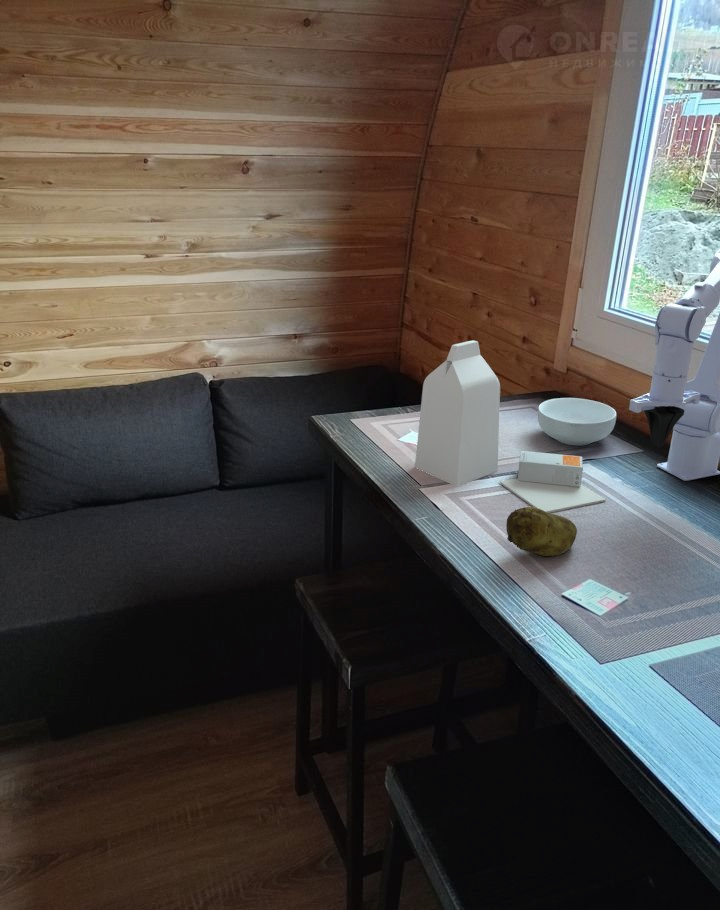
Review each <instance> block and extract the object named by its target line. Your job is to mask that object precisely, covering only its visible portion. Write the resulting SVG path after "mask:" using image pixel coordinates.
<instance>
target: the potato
mask: <svg viewBox="0 0 720 910" xmlns="http://www.w3.org/2000/svg"><path fill="white" fill-rule="evenodd" d="M505 525H506V527H505V528H506V534H507V541H509V543H512V544H513V545H514V546H516V547H517V548H518V549H519V550H521V551H525V552H529V553H535V554H537V555H539V556H545V557H553V556H554V557H555V556H558V555H561V554H564V553H566V552H567V551H568V550H569V549H570V548H571V547H572V546H573V544H574V542H575V540H576V537H577V534H578V529H577V526H576V525H575V523H574V522H573V521H572V520H570V519H569V518H567V517H565V516H561V515H557V514H554V513H552V512H551V513H547V512H545V511H543V510H541V509H538V508H534V507H532V506H527V507H522V508H521V507H520V508H518V509H514V510H513V511H512V512H510V514H508V517H507V518H506V524H505Z"/></svg>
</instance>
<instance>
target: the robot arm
mask: <svg viewBox="0 0 720 910" xmlns="http://www.w3.org/2000/svg"><path fill="white" fill-rule="evenodd" d="M709 267H710V268H709V274H708V275H707V277H706V278H705V279H704V281H701V282H699V281H698V282H697V281H696V283H694V284H693V285H691V286H690V287H689V288H688V290H686V292H685V293H684V294H682V295H681V296H680V297H679V298H678V299H677V300H676V301H675V302H674V303H668V304H667V305H663V306H662V307H661V308H660V310H659V311H658V313H657V315H656V320H655V322H654V330H655V331H654V332H655V341H654V343H655V346H657V349H656V353H655V361H654V366H653V371H652V377H651V383H650V389H649V392H648V393H646V394H643V395H641V396H639V397H636V398H633V399H630V400H629V407H628V410H629V411H631V412H634V413H636V414H639V413H641V412H643V411H644V414H645V416H646V419H647V423H648V426H649V435H650V443H651V444H653V445H655V446H657V447H663V446H665V444H666V442H667V440H668V438H669V437H670V434H671V432H672V437H671V441H670V446H669V447H670V448H669V452H668V456H667V461H666V462H661V463H657V465H656V467H657V468H660V469H661V470H663V471H665V472H667V473H668V474H671V475H673V476H674V477H677V478H678V479H680V480H682V481H684V482H685V481H686V482H687V481H691V480H692V481H693V480H698V479H701V478H702V479H703V478H707V477H712V476H716V475H720V470H718V466H719V463H720V312H719V314H718V316H717V319H716V322H715V323H714V327H713V330H712V332H711V335H710V337H709V340H708V343H707V345H706V348H705V350H704V353H703V355H702V358H701V361H700V364H699V366H698V368H697V371H696V375H695V376H694V378H693V379H691V380H688V375H689V374H688V373H689V369H690V364H691V358H692V353H693V348H694V344H695V341H696V340H698V339H699V336H700V335H701V332H702V331H703V328H704V326H705V325H706V324H707V323H706V321H707V318H708V317H709V316H710V315H711V314H712V313H713V312H714V311H715V310H716V308H717V307H719V304H720V249H718V250H717V251H716V252H715V254H714V256H713V257H712V259H711V262H710V266H709ZM687 380H688V381H687Z"/></svg>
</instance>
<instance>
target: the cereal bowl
mask: <svg viewBox="0 0 720 910" xmlns="http://www.w3.org/2000/svg"><path fill="white" fill-rule="evenodd" d="M537 421H538V425H539V427H540V429H541V430H542V431H543V432H544V433H545V434H546V435H547V436H549V437H551V438H553V439H555V440H557V441H558V442H560V443H562V444H566V445H570V446H586V445H589V444H591V443H595V442H598V441H601V440H603V439H604V438H607V437H608V436H609V435H610V434H611V432H613V430H614V428H615V425H616V421H617V412H616V410H615V409H614V408H613V407H611V406H610V405H608V404H606V403H602V402H600V401H595V400H592V399H591V400H590V399H586V398H577V397H560V398H551V399H547V400H545V401H543V402H541V403H539V405H538V408H537Z"/></svg>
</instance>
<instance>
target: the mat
mask: <svg viewBox="0 0 720 910" xmlns="http://www.w3.org/2000/svg"><path fill="white" fill-rule="evenodd" d="M499 484H500V485H501V486H503V487H504V488H505V489H507V490H509V491H510V492H511V493H513V494H514V495H515V496H517V497H518V498H520V499H521V500H523V501H524V502H525V503H526V504H528V505H530V507H534V508H538V509H541V510H543V511H545V512H547V513H551V514H552V513H555V512H559V511H560V512H561V511H564V510H569V509H570V510H571V509H574V508H580V507H584V506H588V505H589V506H590V505H594V504H599V503H602V502H603V503H604V502H606V500H607V498H604V497H603V496H602V495H599V494H598V493H597V492H595V491H593V490H592V489H590V488H589V487H587V486H584V485H583V484H582V483H581V487H573V486H564V485H554V484H545V483H535V482H525V481H518V477H517V478H512V479H506V480H500V481H499Z"/></svg>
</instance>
